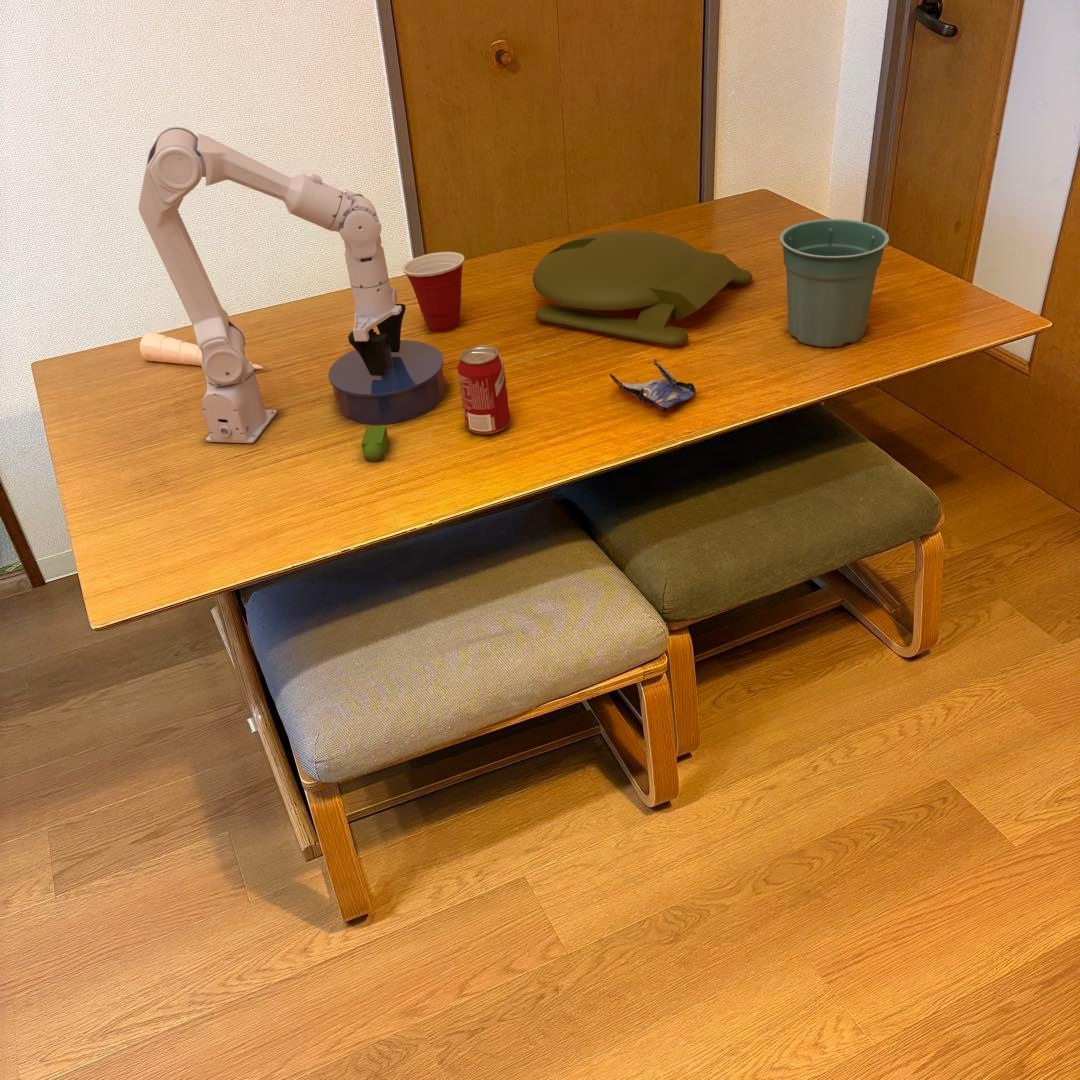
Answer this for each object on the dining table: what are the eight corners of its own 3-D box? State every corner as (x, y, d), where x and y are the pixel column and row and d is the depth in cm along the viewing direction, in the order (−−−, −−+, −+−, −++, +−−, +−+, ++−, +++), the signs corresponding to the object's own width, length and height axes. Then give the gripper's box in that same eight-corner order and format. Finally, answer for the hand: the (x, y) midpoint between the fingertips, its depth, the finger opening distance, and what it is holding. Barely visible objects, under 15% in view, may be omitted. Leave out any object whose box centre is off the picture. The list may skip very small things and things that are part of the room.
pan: (427, 426, 165) (422, 397, 162) (321, 423, 168) (315, 394, 165) (457, 372, 178) (453, 344, 175) (359, 370, 182) (353, 343, 179)
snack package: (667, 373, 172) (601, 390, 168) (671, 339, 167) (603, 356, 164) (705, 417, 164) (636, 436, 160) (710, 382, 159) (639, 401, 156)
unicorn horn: (250, 381, 182) (243, 355, 179) (142, 364, 191) (133, 339, 188) (267, 368, 185) (260, 342, 182) (160, 352, 194) (152, 327, 192)
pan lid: (425, 402, 162) (420, 376, 159) (312, 399, 165) (306, 374, 163) (457, 346, 176) (453, 322, 173) (352, 345, 179) (347, 321, 177)
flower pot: (826, 301, 187) (833, 209, 178) (901, 332, 175) (912, 235, 166) (754, 331, 180) (757, 237, 171) (826, 365, 169) (834, 266, 159)
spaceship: (756, 280, 196) (758, 227, 191) (680, 353, 176) (679, 296, 171) (589, 255, 213) (586, 205, 207) (502, 318, 193) (495, 266, 187)
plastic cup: (446, 306, 199) (436, 243, 192) (485, 321, 193) (477, 256, 186) (400, 328, 194) (388, 264, 186) (439, 344, 187) (428, 278, 180)
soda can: (494, 441, 159) (485, 368, 152) (457, 432, 162) (446, 359, 155) (519, 420, 164) (511, 347, 157) (482, 411, 167) (473, 340, 160)
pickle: (383, 463, 157) (380, 447, 155) (363, 465, 157) (359, 448, 156) (390, 437, 163) (387, 421, 161) (370, 438, 163) (367, 422, 161)
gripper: (379, 301, 155) (395, 385, 163) (409, 261, 166) (423, 342, 174) (333, 301, 157) (351, 384, 165) (366, 261, 168) (381, 341, 176)
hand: (385, 362), depth 170 cm, fingers open, 7 cm apart
